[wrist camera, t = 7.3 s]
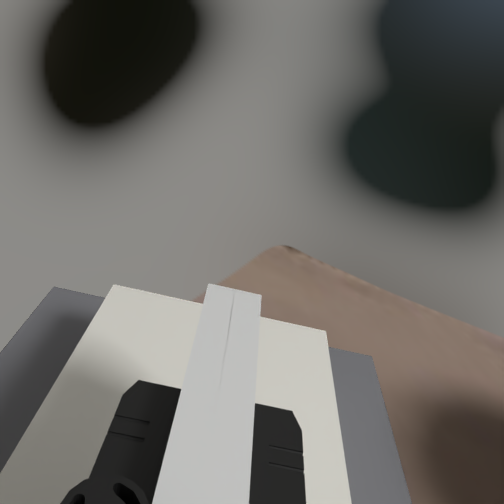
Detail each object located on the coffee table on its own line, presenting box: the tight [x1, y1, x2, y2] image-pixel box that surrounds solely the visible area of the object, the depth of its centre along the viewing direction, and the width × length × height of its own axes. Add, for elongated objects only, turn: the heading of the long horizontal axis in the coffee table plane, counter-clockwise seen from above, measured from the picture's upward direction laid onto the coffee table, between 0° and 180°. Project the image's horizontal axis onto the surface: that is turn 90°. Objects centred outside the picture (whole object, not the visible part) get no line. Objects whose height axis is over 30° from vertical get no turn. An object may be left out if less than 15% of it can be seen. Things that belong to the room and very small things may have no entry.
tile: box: [0, 284, 352, 504], centre depth 17 cm, size 3×10×12 cm
